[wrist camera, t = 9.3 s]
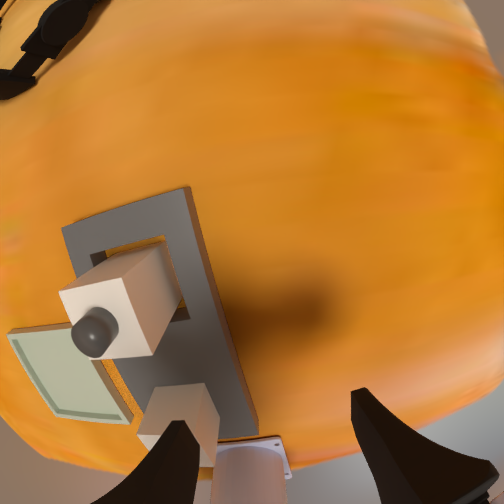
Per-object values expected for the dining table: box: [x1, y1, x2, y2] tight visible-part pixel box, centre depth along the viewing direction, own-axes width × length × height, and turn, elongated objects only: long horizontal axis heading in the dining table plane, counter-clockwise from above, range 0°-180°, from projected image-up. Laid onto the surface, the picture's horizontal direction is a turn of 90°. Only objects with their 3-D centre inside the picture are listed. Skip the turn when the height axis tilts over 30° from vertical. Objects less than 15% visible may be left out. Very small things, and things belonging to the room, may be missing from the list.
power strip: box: [61, 187, 259, 467], centre depth 15 cm, size 20×9×9 cm, turn 13°
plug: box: [58, 241, 183, 360], centre depth 14 cm, size 4×4×9 cm
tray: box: [6, 322, 134, 425], centre depth 20 cm, size 11×11×1 cm
